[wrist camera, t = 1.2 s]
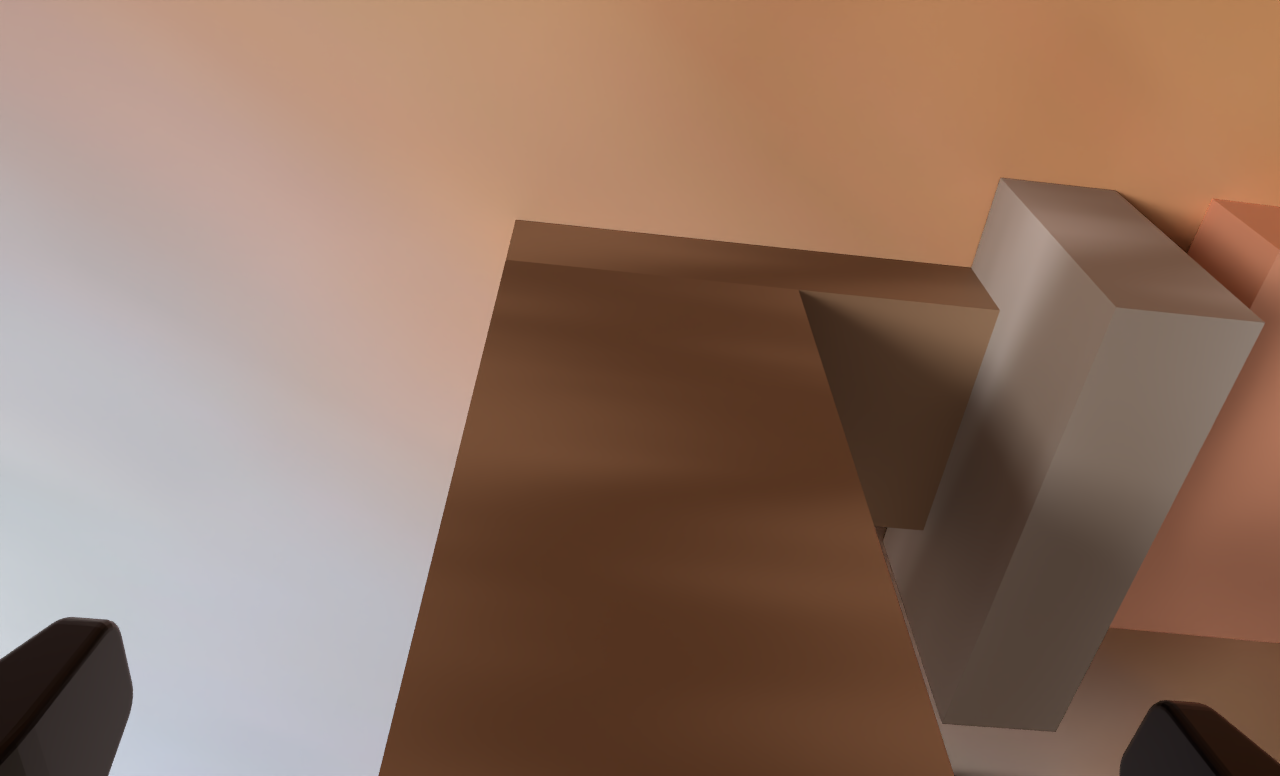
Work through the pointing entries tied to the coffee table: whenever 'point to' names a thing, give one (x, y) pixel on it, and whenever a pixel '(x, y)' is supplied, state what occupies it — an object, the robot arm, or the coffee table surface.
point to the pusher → (805, 494)
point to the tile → (1226, 466)
